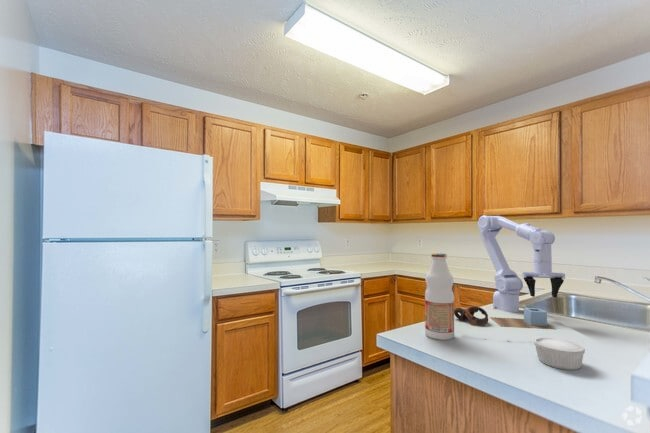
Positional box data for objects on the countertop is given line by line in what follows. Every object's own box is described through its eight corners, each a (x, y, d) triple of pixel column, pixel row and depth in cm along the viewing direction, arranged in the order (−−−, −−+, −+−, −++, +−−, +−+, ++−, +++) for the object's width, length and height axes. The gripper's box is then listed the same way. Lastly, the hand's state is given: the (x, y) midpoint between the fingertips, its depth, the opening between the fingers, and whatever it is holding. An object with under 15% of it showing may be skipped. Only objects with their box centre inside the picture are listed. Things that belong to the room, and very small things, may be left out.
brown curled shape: (484, 324, 124) (491, 308, 120) (483, 341, 117) (489, 325, 113) (452, 312, 129) (457, 297, 125) (449, 329, 121) (454, 313, 117)
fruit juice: (437, 342, 103) (437, 255, 104) (419, 332, 112) (419, 252, 113) (460, 338, 106) (460, 254, 107) (441, 330, 115) (440, 252, 116)
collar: (530, 325, 116) (530, 311, 116) (524, 321, 121) (523, 307, 122) (547, 326, 115) (546, 312, 115) (539, 321, 120) (539, 308, 121)
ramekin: (537, 351, 95) (536, 334, 96) (585, 362, 88) (584, 342, 88) (531, 364, 87) (531, 344, 87) (584, 376, 80) (584, 355, 80)
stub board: (500, 330, 115) (500, 316, 115) (489, 321, 126) (489, 308, 127) (556, 333, 112) (555, 319, 112) (539, 323, 124) (538, 310, 124)
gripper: (526, 262, 122) (527, 297, 121) (569, 262, 119) (570, 299, 119) (519, 260, 129) (519, 294, 128) (559, 261, 126) (560, 295, 126)
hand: (543, 296), depth 124 cm, fingers open, 7 cm apart
